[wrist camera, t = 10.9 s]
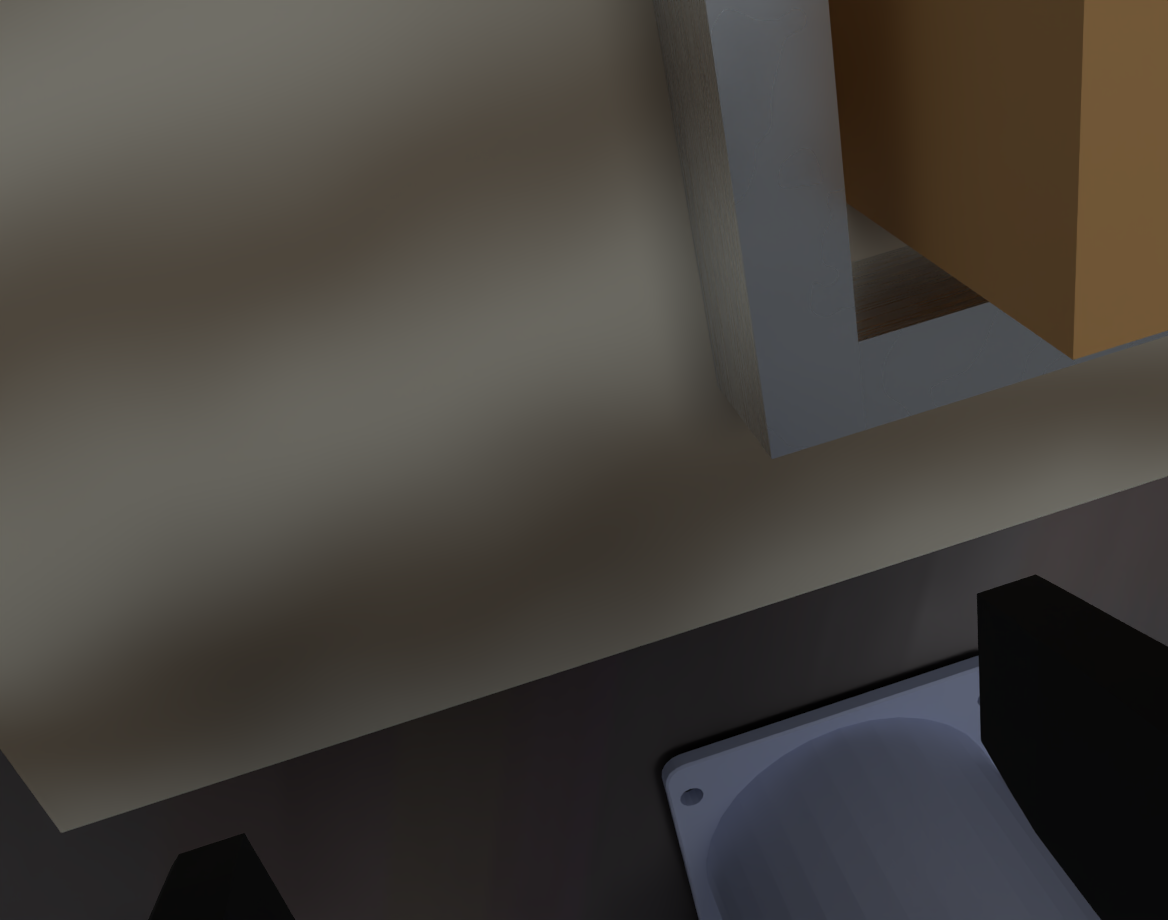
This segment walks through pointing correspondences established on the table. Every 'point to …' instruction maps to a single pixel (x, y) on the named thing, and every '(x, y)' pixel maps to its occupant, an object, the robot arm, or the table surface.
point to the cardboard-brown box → (1017, 152)
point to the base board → (403, 385)
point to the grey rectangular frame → (811, 243)
